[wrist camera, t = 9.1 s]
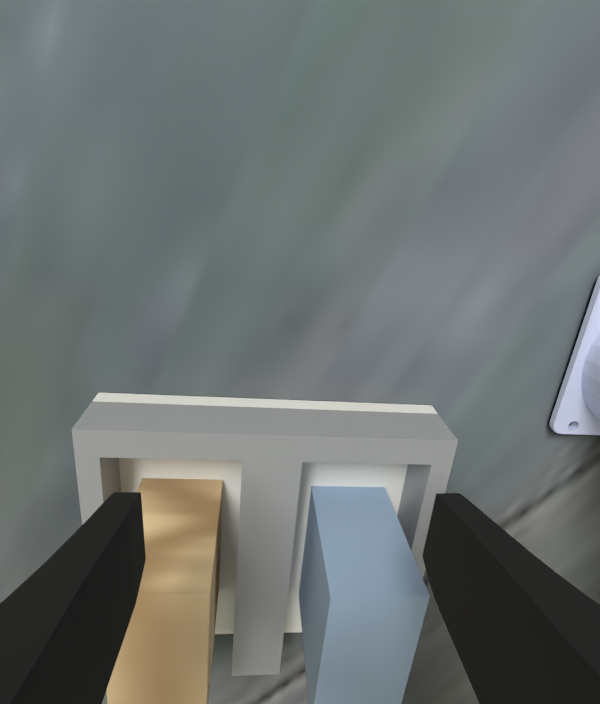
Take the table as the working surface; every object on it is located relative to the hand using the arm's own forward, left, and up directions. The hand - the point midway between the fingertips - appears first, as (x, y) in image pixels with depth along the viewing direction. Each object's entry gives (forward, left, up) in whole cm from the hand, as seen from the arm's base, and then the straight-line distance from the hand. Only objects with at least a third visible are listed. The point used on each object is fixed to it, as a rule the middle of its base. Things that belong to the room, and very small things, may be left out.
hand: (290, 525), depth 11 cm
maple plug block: (+4, +9, -9) cm, 13 cm away
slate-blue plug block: (-4, +9, -9) cm, 13 cm away
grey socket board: (0, +8, -9) cm, 13 cm away
